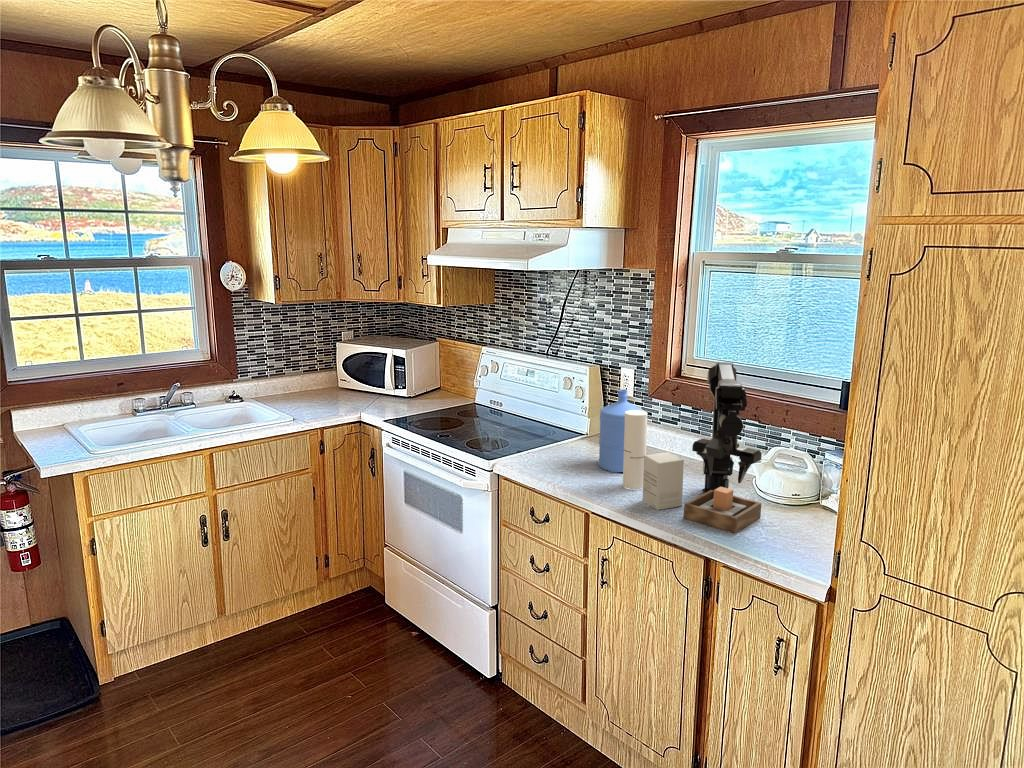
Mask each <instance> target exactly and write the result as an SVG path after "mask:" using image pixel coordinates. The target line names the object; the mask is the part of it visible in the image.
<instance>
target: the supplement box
mask: <svg viewBox="0 0 1024 768" xmlns="http://www.w3.org/2000/svg"><path fill="white" fill-rule="evenodd" d="M684 463H685V461H684V459H683V458H681V457H679V456H677V455H675V454H673V453H671V452H668V451H666V452H660V453H659V452H658V453H651V454H646V455H644V471H643V489H642V501H643V502H644V501H645V502H644V503H646V502H647V503H648V504H647V503H646V504H647V505H649V506H650V505H651V507H652V508H654V509H655V510H657V511H660V509H661V510H665V509H666V510H667V509H670V508H677V507H678V506H679V507H682V506H683V493H684V492H683V491H684V490H683V489H684V488H683V485H684V465H685V464H684Z"/></svg>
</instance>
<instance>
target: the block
mask: <svg viewBox="0 0 1024 768" xmlns="http://www.w3.org/2000/svg"><path fill="white" fill-rule="evenodd" d="M733 496H734V489H732V488H729V487H728V488H724V487H719V488H717V489H715V490H714V500H713V508H717V509H721V510H724V511H729V510H730V509H732V504H733Z"/></svg>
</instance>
